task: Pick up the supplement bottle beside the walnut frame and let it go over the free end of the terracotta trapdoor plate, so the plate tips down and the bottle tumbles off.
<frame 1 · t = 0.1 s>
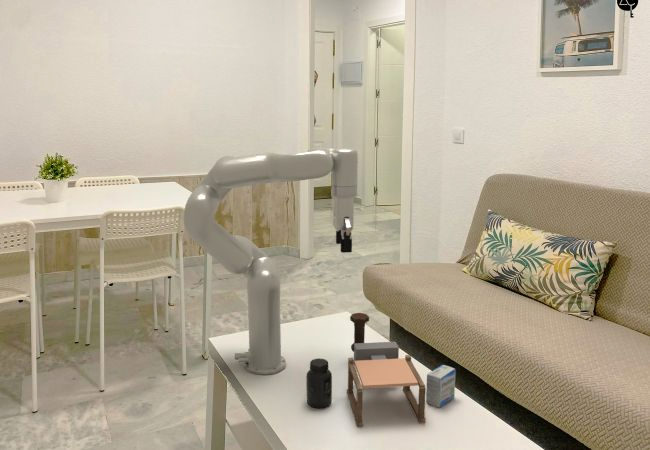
hand: (343, 247, 177), 37 cm above the table, tool pointing down, fingers open, 9 cm apart
trapdoor: (382, 366, 160), point 10 cm above the table, hinge at 0.0°
trapdoor frame: (384, 407, 159), on the table
medicine box: (440, 400, 163), on the table
supplement bottle: (319, 403, 161), on the table
bolt: (358, 361, 186), on the table
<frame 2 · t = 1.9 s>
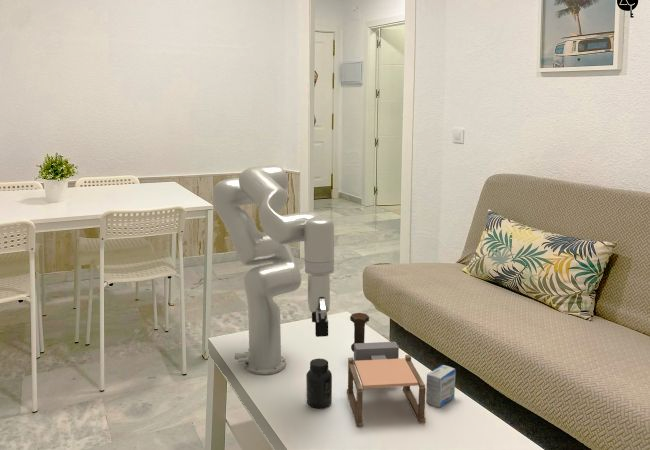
hand: (319, 328, 156), 22 cm above the table, tool pointing down, fingers open, 9 cm apart
nothing on the table moved.
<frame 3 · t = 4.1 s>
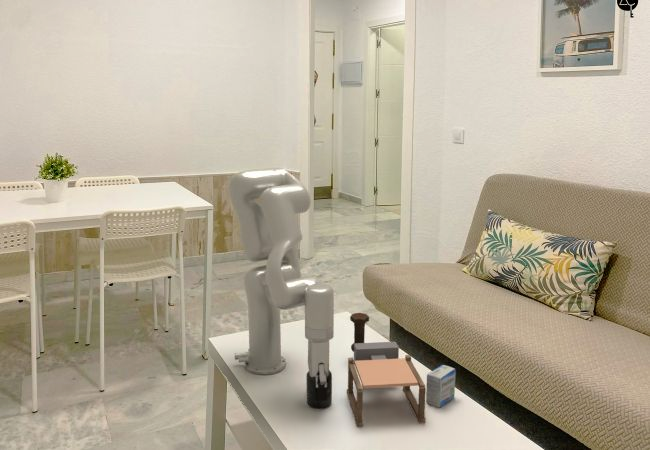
hand: (319, 392, 161), 3 cm above the table, tool pointing down, fingers closed on supplement bottle, 6 cm apart
supplement bottle: (319, 403, 161), on the table, touching gripper
everything else where it was.
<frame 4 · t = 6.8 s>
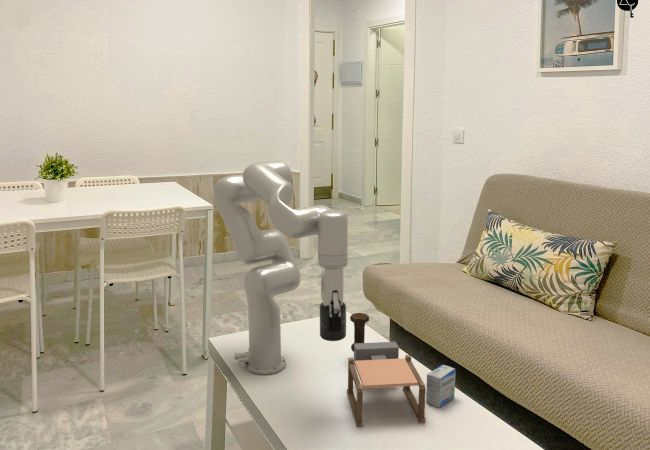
hand: (333, 324, 155), 23 cm above the table, tool pointing down, fingers closed on supplement bottle, 6 cm apart
supplement bottle: (333, 337, 156), point 20 cm above the table, touching gripper
everything else where it was.
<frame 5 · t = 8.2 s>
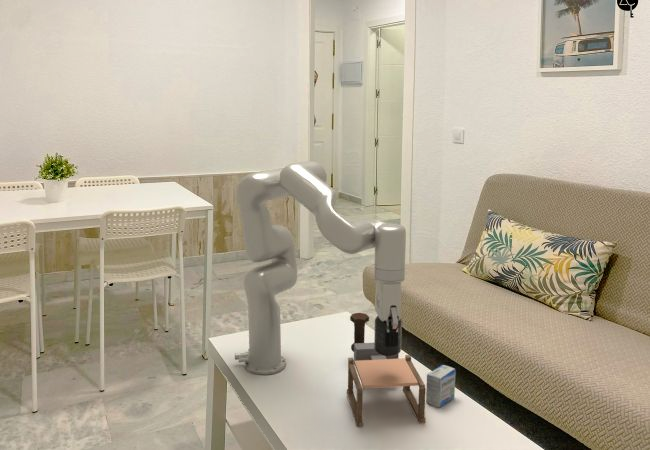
hand: (387, 339, 153), 20 cm above the table, tool pointing down, fingers closed on supplement bottle, 6 cm apart
supplement bottle: (387, 351, 154), point 17 cm above the table, touching gripper
everything else where it was.
when the fingers open (15 cm above the table, at t = 9.5 s): supplement bottle drops 3 cm, resting on trapdoor.
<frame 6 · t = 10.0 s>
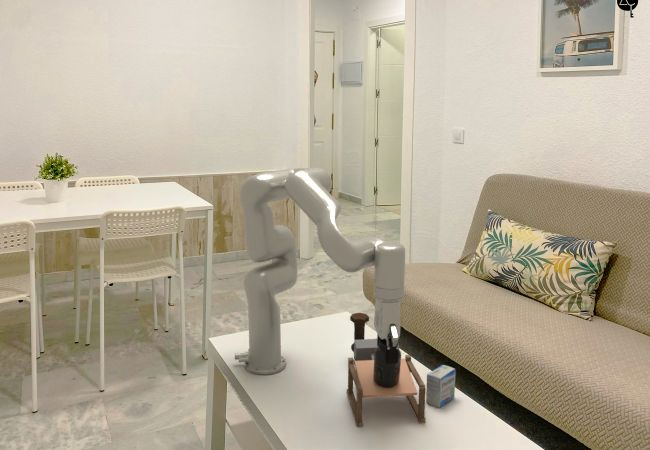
hand: (387, 354, 154), 16 cm above the table, tool pointing down, fingers open, 9 cm apart
trapdoor: (382, 369, 161), point 9 cm above the table, hinge at -11.9°, touching supplement bottle
supplement bottle: (386, 381, 156), point 9 cm above the table, touching gripper, trapdoor
everything else where it was.
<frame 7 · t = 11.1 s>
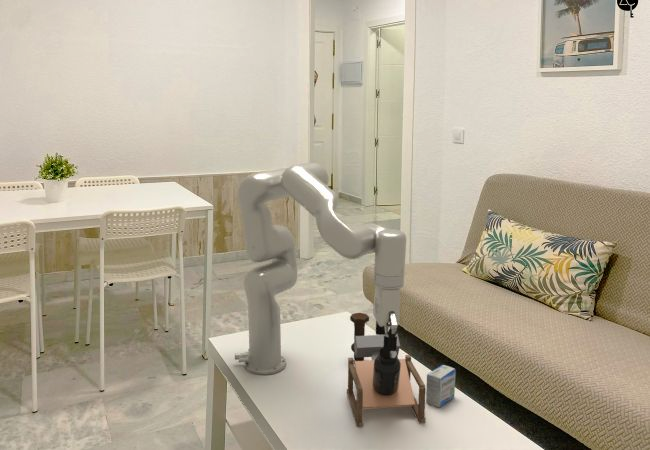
hand: (385, 342, 153), 19 cm above the table, tool pointing down, fingers open, 9 cm apart
trapdoor: (381, 371, 161), point 8 cm above the table, hinge at -29.3°, touching supplement bottle
supplement bottle: (385, 387, 157), point 6 cm above the table, touching trapdoor
everything else where it was.
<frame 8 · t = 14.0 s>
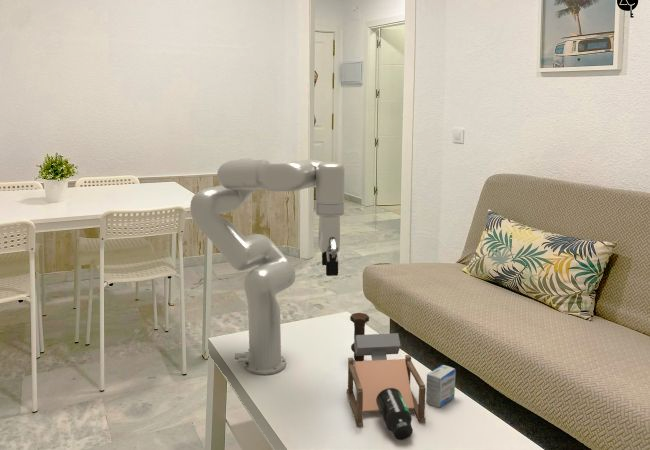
hand: (329, 270, 164), 34 cm above the table, tool pointing down, fingers open, 9 cm apart
trapdoor: (381, 372, 162), point 8 cm above the table, hinge at -37.2°, touching supplement bottle
supplement bottle: (387, 396, 154), point 6 cm above the table, touching trapdoor
everything else where it was.
at the end: supplement bottle point 5.6 cm above the table; the gripper is holding nothing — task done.
